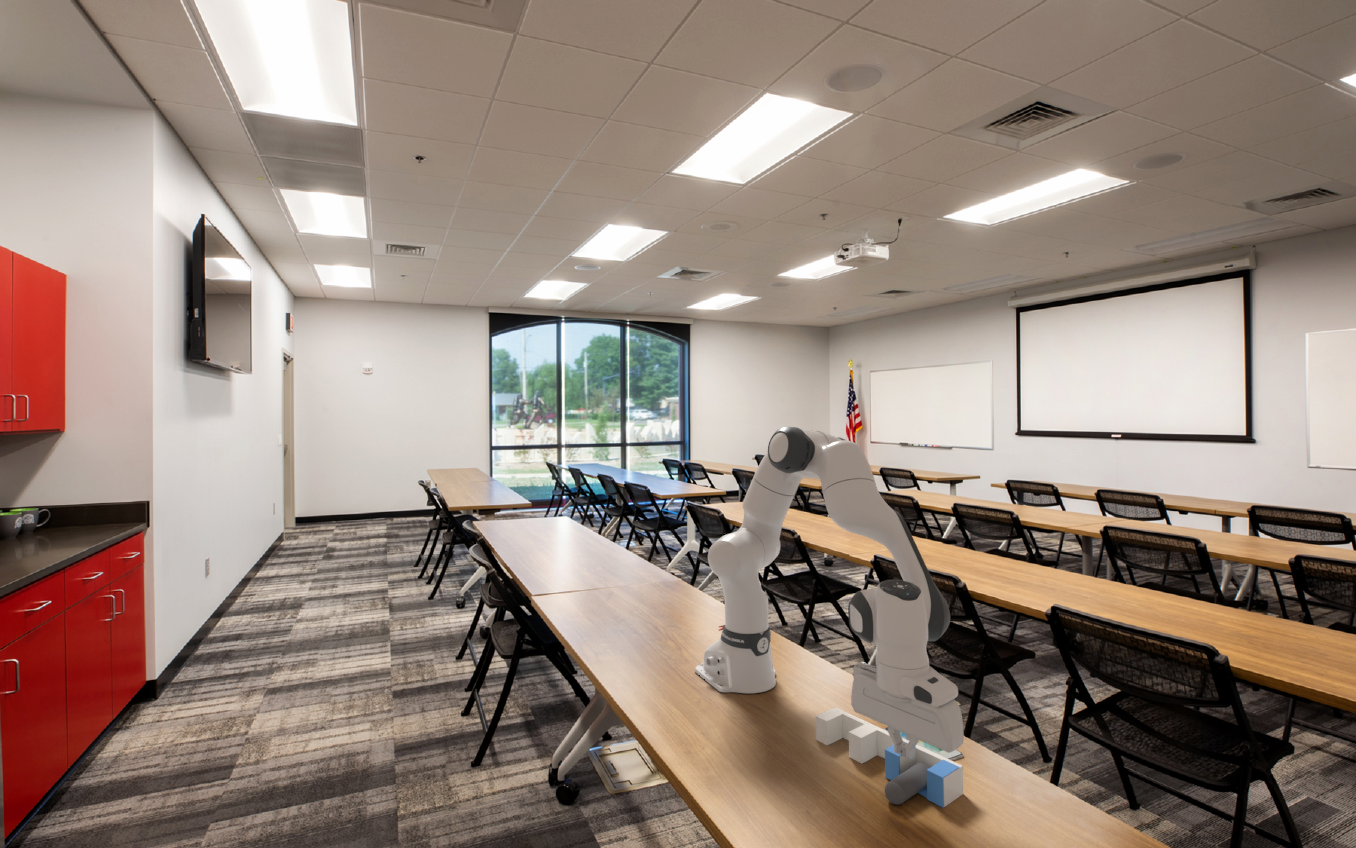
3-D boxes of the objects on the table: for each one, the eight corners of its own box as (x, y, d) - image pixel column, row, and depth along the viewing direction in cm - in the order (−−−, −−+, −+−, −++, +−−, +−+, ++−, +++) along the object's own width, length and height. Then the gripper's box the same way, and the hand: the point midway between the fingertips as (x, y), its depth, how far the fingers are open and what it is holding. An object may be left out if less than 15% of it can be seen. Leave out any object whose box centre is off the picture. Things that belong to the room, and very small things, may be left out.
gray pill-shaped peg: (880, 801, 107) (880, 781, 107) (918, 775, 114) (918, 756, 114) (898, 812, 104) (898, 791, 104) (936, 785, 111) (936, 765, 111)
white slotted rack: (815, 740, 128) (814, 715, 128) (835, 730, 132) (834, 706, 132) (943, 808, 105) (942, 777, 105) (963, 793, 109) (962, 764, 109)
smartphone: (938, 763, 118) (882, 728, 132) (938, 768, 118) (882, 732, 132) (965, 754, 121) (908, 720, 135) (965, 758, 121) (908, 724, 135)
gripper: (842, 663, 114) (844, 737, 114) (946, 701, 98) (949, 788, 98) (863, 654, 118) (865, 726, 118) (967, 690, 102) (969, 773, 102)
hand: (904, 755), depth 108 cm, fingers closed
